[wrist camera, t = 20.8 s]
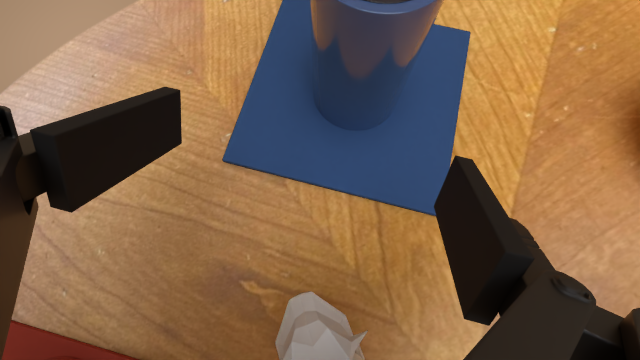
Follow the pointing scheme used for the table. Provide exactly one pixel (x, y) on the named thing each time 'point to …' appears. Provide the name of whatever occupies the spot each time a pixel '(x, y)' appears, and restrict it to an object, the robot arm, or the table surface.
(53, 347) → the red mat
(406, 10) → the blue tumbler
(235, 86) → the table surface
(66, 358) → the red tumbler
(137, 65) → the table surface
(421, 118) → the blue mat
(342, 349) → the cat figurine
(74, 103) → the table surface
